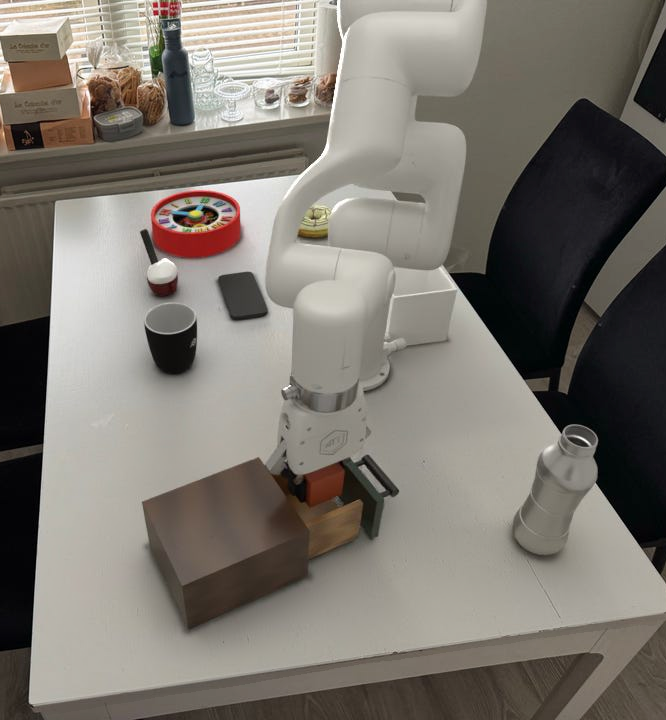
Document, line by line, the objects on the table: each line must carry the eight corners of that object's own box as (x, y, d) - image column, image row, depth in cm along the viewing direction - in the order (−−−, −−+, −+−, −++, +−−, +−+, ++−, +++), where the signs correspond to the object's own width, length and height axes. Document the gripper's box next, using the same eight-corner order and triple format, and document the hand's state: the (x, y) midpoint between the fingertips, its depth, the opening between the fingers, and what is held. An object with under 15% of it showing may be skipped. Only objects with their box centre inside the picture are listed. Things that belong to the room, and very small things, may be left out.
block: (322, 469, 92) (324, 444, 89) (341, 494, 89) (344, 470, 85) (290, 481, 91) (291, 457, 88) (309, 508, 87) (311, 483, 84)
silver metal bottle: (548, 517, 93) (594, 412, 80) (571, 560, 88) (624, 456, 75) (500, 520, 93) (539, 416, 80) (520, 564, 88) (565, 460, 75)
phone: (252, 270, 142) (269, 311, 131) (252, 273, 143) (269, 315, 131) (216, 275, 142) (231, 317, 130) (217, 279, 142) (231, 321, 131)
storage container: (446, 340, 123) (457, 289, 115) (386, 348, 122) (393, 297, 115) (397, 265, 142) (404, 218, 134) (344, 272, 141) (349, 225, 134)
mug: (199, 379, 119) (195, 333, 113) (148, 380, 120) (141, 334, 113) (201, 336, 128) (197, 291, 122) (153, 337, 129) (147, 293, 122)
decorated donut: (289, 217, 160) (289, 202, 157) (336, 216, 158) (337, 202, 156) (289, 240, 152) (290, 225, 149) (339, 240, 151) (340, 224, 148)
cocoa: (183, 300, 137) (178, 248, 130) (152, 305, 137) (145, 253, 129) (173, 274, 145) (168, 224, 137) (144, 280, 144) (137, 229, 136)
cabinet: (259, 502, 98) (258, 456, 92) (307, 576, 89) (310, 531, 82) (149, 546, 94) (141, 501, 88) (188, 629, 84) (181, 586, 78)
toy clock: (226, 238, 143) (137, 228, 149) (227, 262, 147) (140, 252, 152) (250, 194, 157) (167, 187, 163) (250, 216, 161) (170, 209, 167)
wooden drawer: (356, 462, 101) (361, 425, 96) (407, 523, 93) (416, 486, 88) (233, 512, 96) (231, 475, 91) (274, 582, 87) (275, 545, 82)
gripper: (273, 429, 73) (272, 532, 85) (407, 380, 77) (387, 484, 89) (241, 387, 78) (244, 489, 90) (368, 343, 83) (355, 446, 94)
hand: (315, 486), depth 89 cm, fingers closed on block, 4 cm apart
